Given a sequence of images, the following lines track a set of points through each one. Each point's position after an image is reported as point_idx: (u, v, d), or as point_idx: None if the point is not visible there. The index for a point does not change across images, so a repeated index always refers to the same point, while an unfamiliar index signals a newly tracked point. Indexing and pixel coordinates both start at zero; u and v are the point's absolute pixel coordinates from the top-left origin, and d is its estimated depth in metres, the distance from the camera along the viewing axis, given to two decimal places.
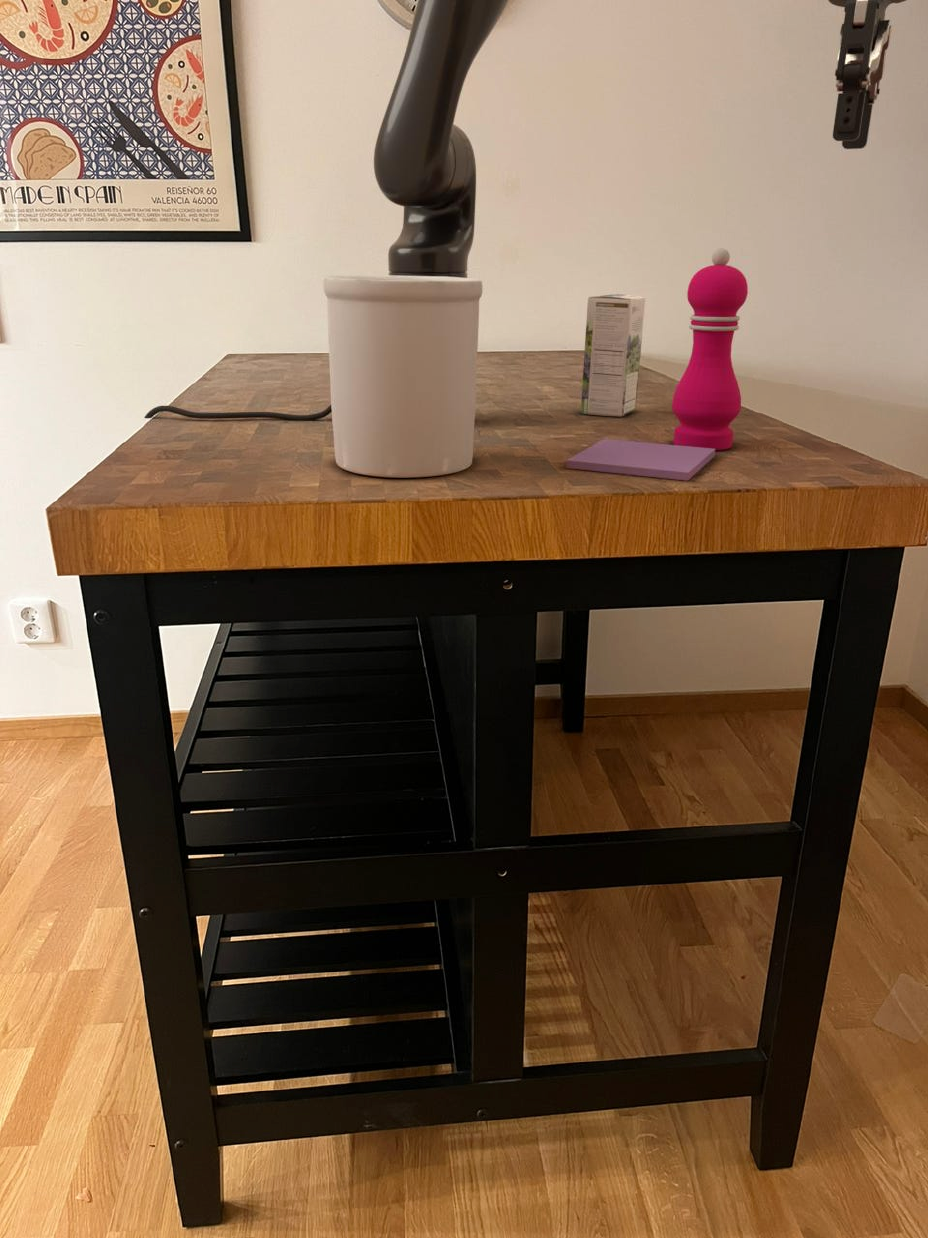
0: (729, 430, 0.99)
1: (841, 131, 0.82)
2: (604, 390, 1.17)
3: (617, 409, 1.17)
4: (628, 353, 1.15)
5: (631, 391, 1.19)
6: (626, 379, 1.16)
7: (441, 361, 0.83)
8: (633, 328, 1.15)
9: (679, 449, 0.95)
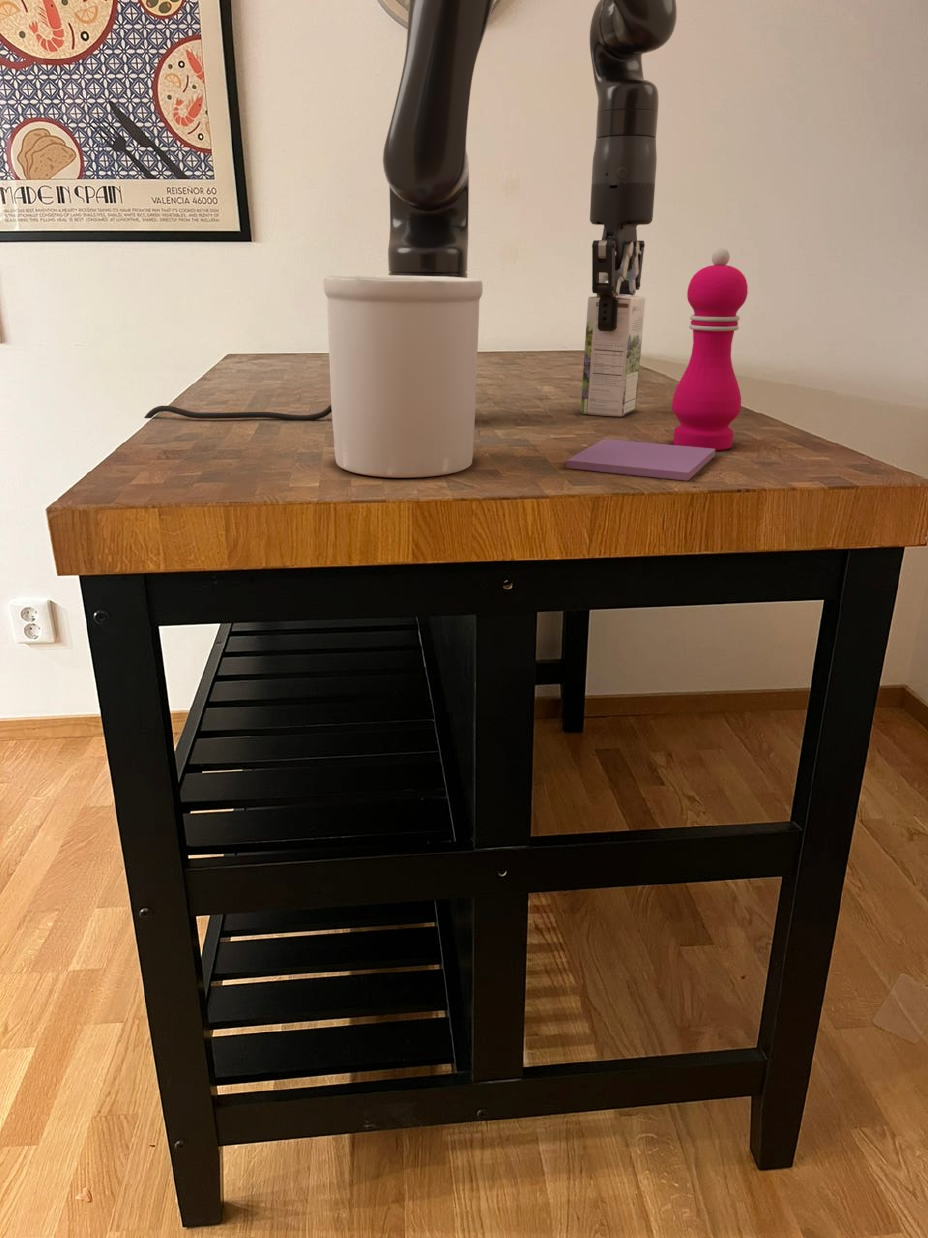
0: (729, 430, 0.99)
1: (602, 325, 1.14)
2: (604, 390, 1.17)
3: (617, 409, 1.17)
4: (629, 353, 1.15)
5: (631, 391, 1.19)
6: (626, 379, 1.16)
7: (441, 361, 0.83)
8: (633, 328, 1.15)
9: (679, 449, 0.95)
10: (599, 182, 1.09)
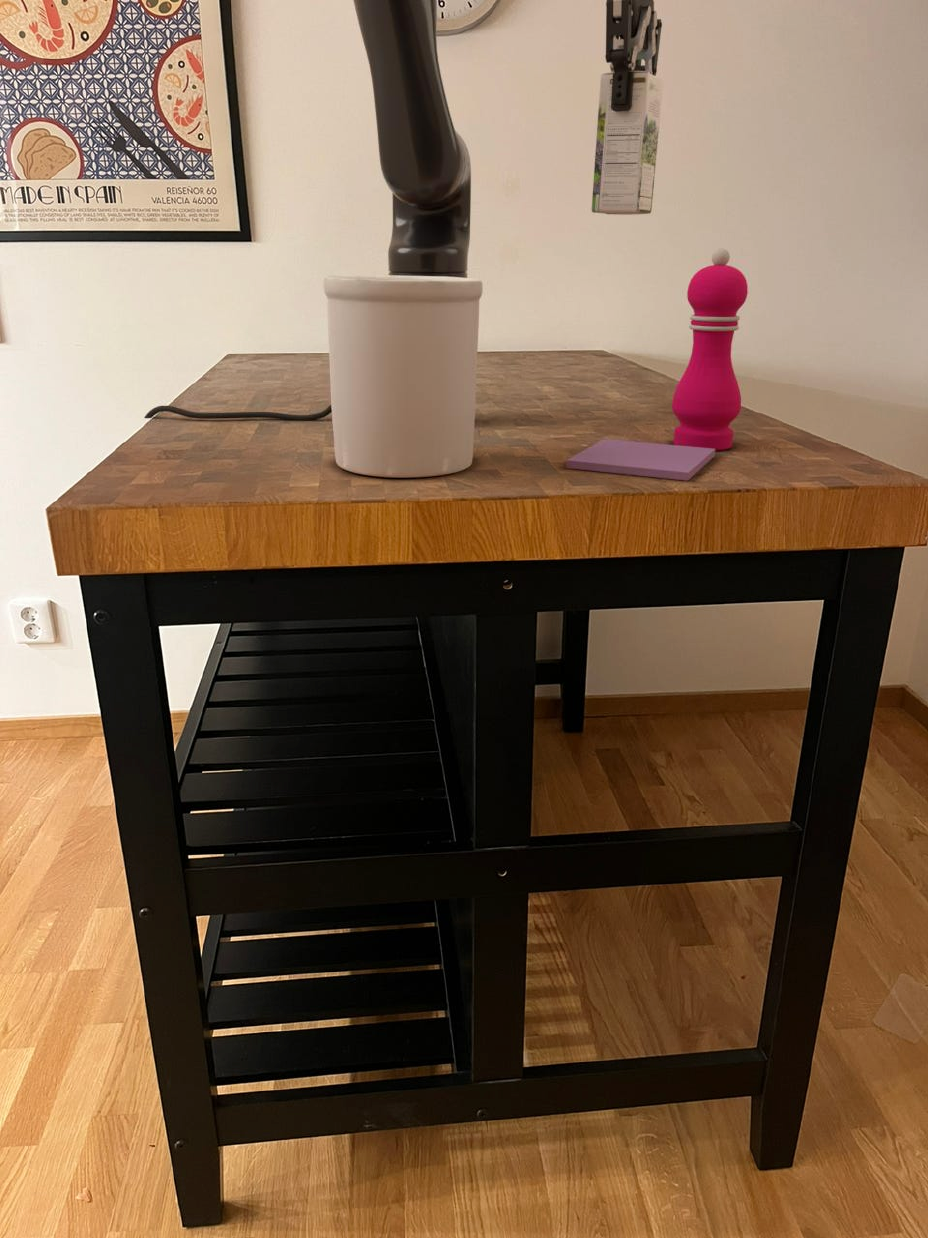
0: (729, 430, 0.99)
1: (616, 103, 1.03)
2: (618, 182, 1.07)
3: (631, 203, 1.07)
4: (645, 137, 1.05)
5: (647, 185, 1.08)
6: (642, 168, 1.06)
7: (441, 361, 0.83)
8: (650, 109, 1.04)
9: (679, 449, 0.95)
10: None
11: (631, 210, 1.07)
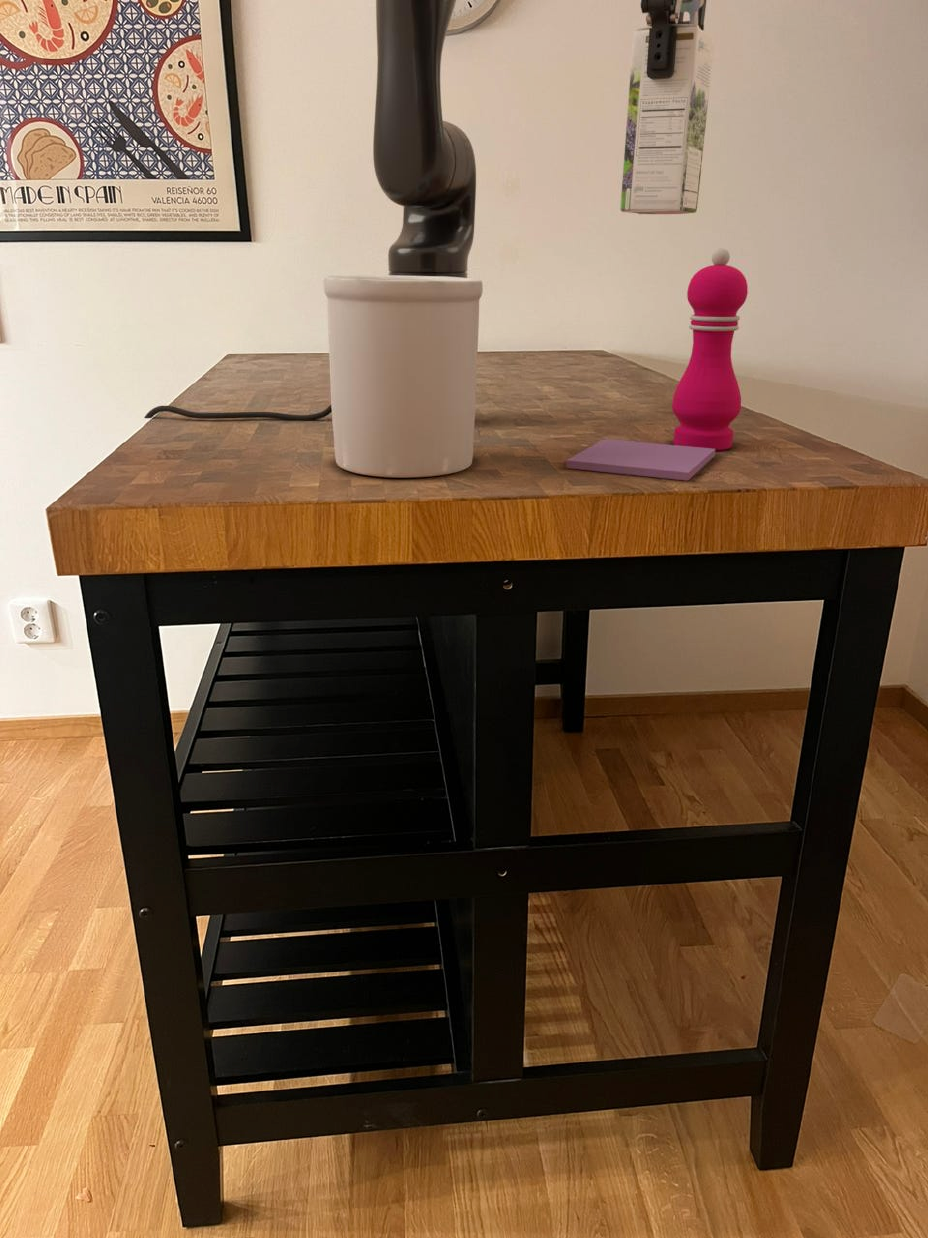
0: (729, 430, 0.99)
1: (653, 68, 0.78)
2: (655, 172, 0.82)
3: (673, 199, 0.82)
4: (692, 113, 0.80)
5: (693, 177, 0.83)
6: (688, 153, 0.81)
7: (441, 361, 0.83)
8: (698, 76, 0.79)
9: (679, 449, 0.95)
10: None
11: (673, 209, 0.82)
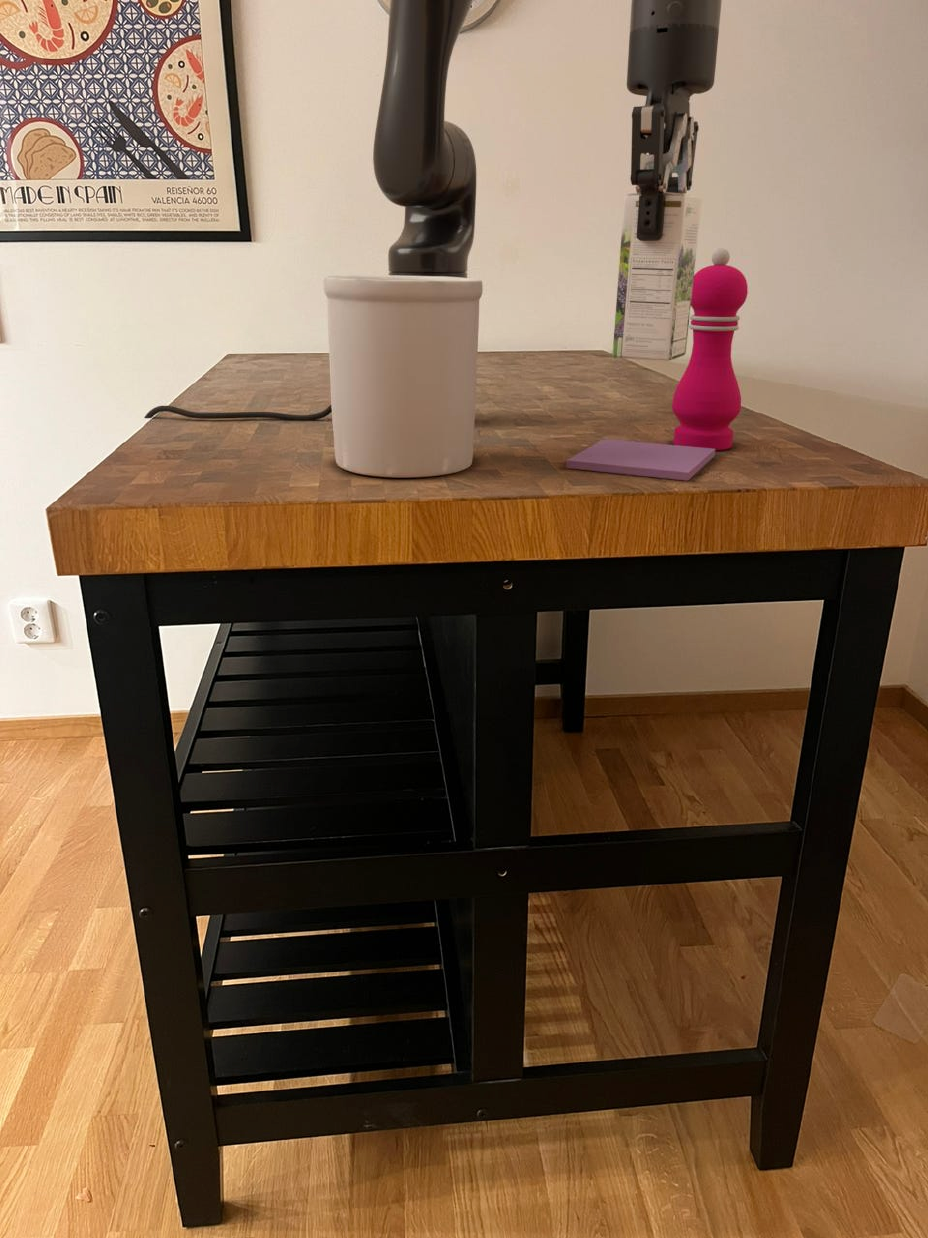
0: (729, 430, 0.99)
1: (643, 232, 0.82)
2: (645, 325, 0.86)
3: (663, 350, 0.86)
4: (680, 272, 0.84)
5: (681, 326, 0.87)
6: (676, 308, 0.85)
7: (441, 361, 0.83)
8: (686, 238, 0.83)
9: (679, 449, 0.95)
10: (642, 27, 0.78)
11: (662, 359, 0.86)
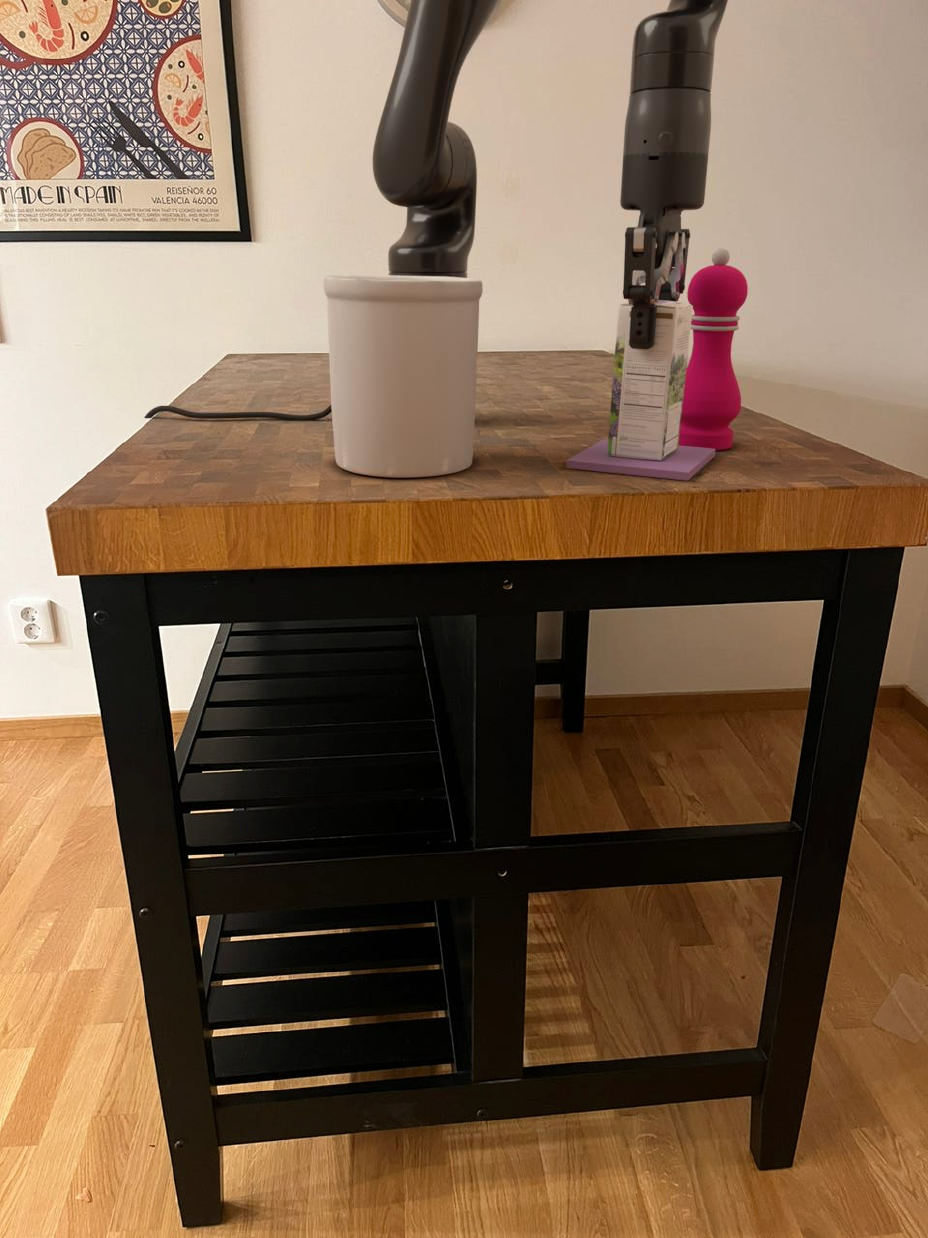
0: (729, 430, 0.99)
1: (635, 342, 0.86)
2: (639, 426, 0.90)
3: (655, 450, 0.90)
4: (672, 379, 0.87)
5: (673, 426, 0.91)
6: (668, 412, 0.89)
7: (441, 361, 0.83)
8: (678, 346, 0.87)
9: (679, 449, 0.95)
10: (634, 153, 0.81)
11: (655, 458, 0.90)
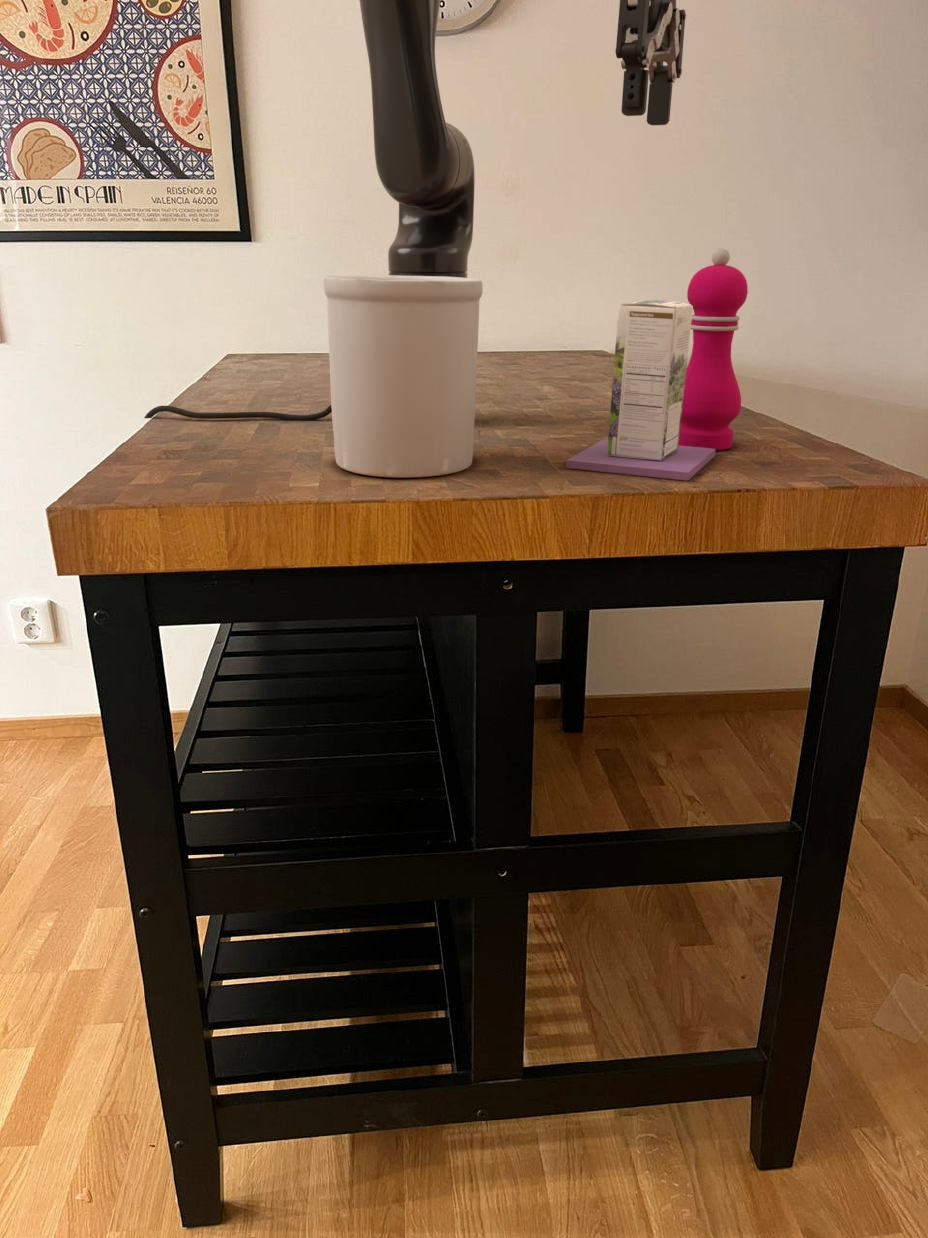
0: (729, 430, 0.99)
1: (627, 106, 0.88)
2: (639, 426, 0.90)
3: (655, 450, 0.90)
4: (672, 378, 0.87)
5: (673, 426, 0.91)
6: (668, 412, 0.89)
7: (441, 361, 0.83)
8: (678, 346, 0.87)
9: (679, 449, 0.95)
10: None
11: (655, 458, 0.90)
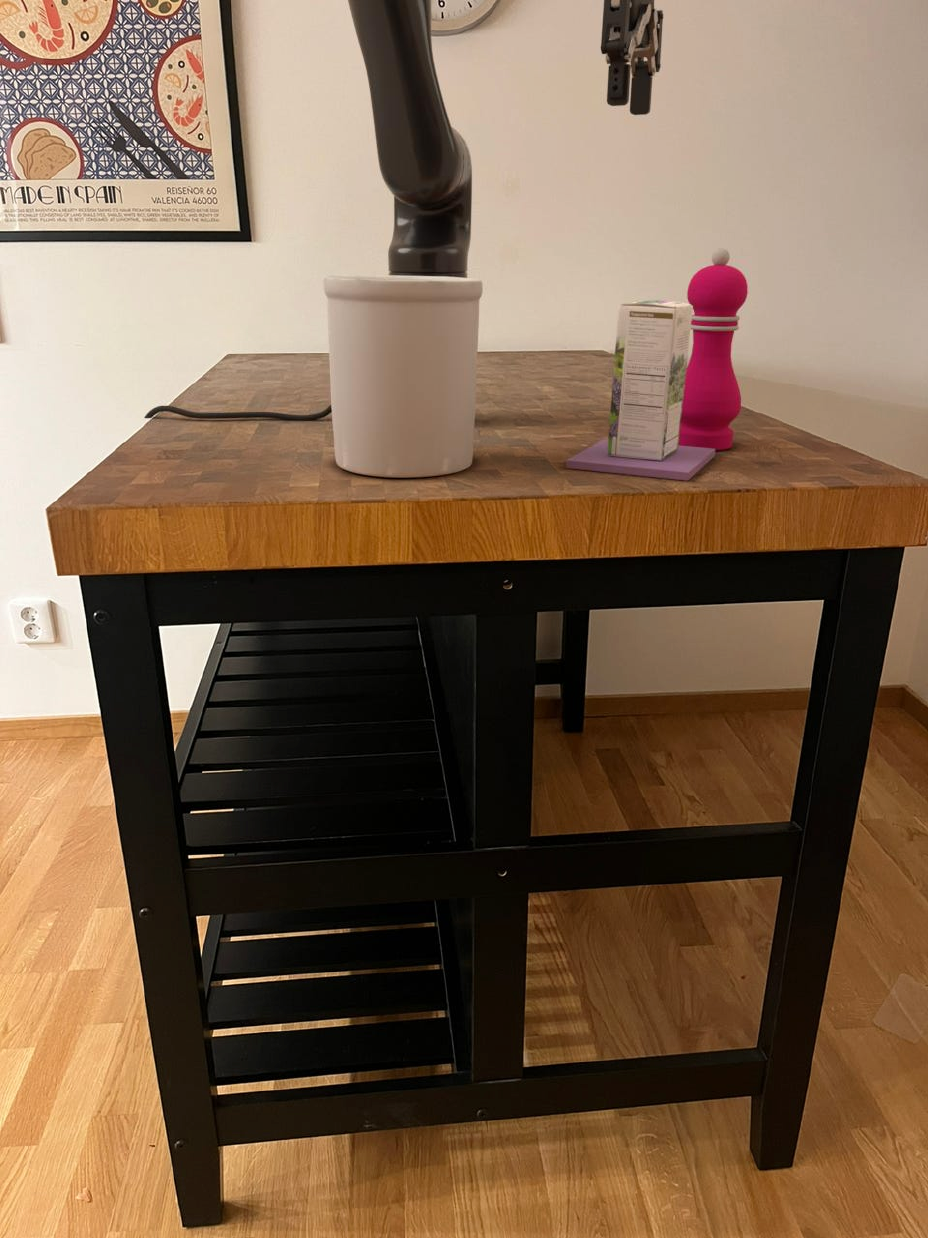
0: (729, 430, 0.99)
1: (612, 97, 0.98)
2: (639, 426, 0.90)
3: (655, 450, 0.90)
4: (672, 378, 0.87)
5: (673, 426, 0.91)
6: (668, 412, 0.89)
7: (441, 361, 0.83)
8: (678, 346, 0.87)
9: (679, 449, 0.95)
10: None
11: (655, 458, 0.90)
